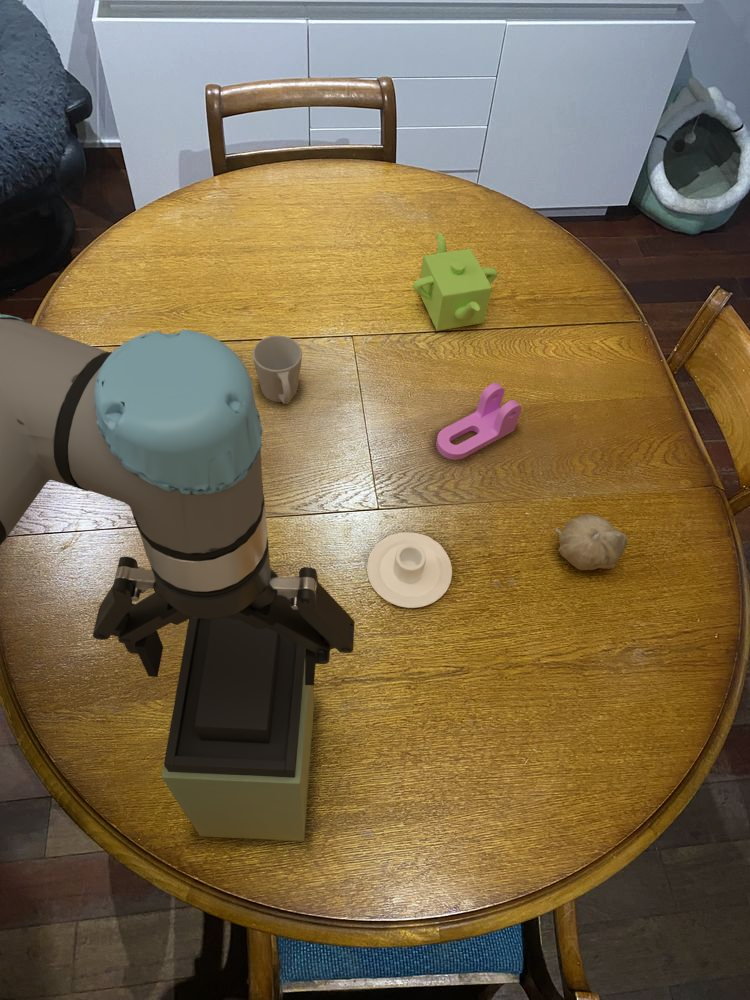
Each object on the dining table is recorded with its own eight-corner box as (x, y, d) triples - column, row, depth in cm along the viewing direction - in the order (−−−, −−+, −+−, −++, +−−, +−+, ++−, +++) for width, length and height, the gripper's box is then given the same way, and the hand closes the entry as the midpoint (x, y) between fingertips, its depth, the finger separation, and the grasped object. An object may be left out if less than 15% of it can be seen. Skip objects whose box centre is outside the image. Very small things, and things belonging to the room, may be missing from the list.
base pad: (168, 771, 68) (163, 764, 66) (194, 613, 76) (191, 603, 74) (295, 777, 68) (294, 770, 66) (308, 619, 77) (307, 609, 75)
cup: (296, 368, 131) (295, 331, 123) (311, 413, 125) (311, 377, 118) (251, 376, 129) (247, 339, 122) (265, 422, 124) (262, 387, 117)
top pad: (269, 743, 69) (266, 730, 65) (200, 740, 68) (194, 726, 65) (280, 637, 74) (278, 619, 71) (216, 634, 74) (211, 616, 71)
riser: (199, 836, 90) (161, 777, 68) (219, 700, 99) (190, 608, 77) (304, 841, 91) (300, 783, 68) (314, 705, 100) (313, 615, 77)
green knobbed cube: (431, 273, 145) (438, 225, 137) (498, 297, 143) (511, 250, 134) (398, 325, 138) (404, 277, 129) (469, 351, 135) (480, 305, 126)
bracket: (492, 407, 129) (500, 378, 123) (514, 430, 126) (523, 402, 120) (429, 440, 124) (434, 412, 118) (450, 465, 122) (457, 437, 116)
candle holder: (439, 529, 115) (443, 513, 111) (461, 602, 109) (466, 588, 105) (359, 541, 113) (360, 526, 109) (376, 616, 107) (379, 602, 103)
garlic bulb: (607, 566, 116) (652, 541, 108) (575, 596, 112) (621, 573, 103) (566, 515, 117) (609, 487, 109) (534, 543, 112) (575, 516, 104)
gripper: (403, 504, 52) (377, 633, 70) (25, 479, 51) (98, 617, 69) (401, 607, 48) (375, 716, 66) (-10, 583, 47) (77, 700, 65)
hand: (233, 666), depth 67 cm, fingers open, 12 cm apart
